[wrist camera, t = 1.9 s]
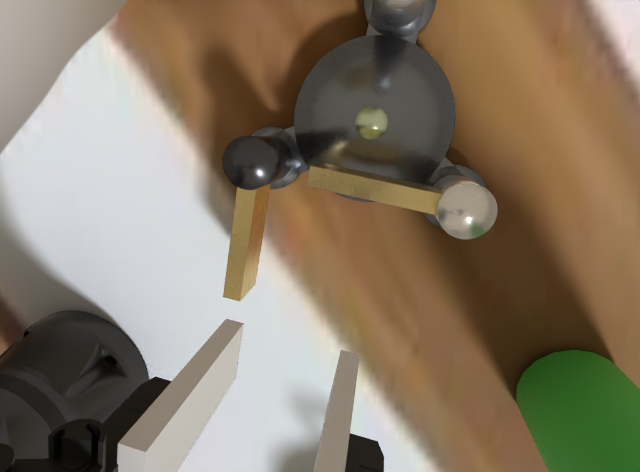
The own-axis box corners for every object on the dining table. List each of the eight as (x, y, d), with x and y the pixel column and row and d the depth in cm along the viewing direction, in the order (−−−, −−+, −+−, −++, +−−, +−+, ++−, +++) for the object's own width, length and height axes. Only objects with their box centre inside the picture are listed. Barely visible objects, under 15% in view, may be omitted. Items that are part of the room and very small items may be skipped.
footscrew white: (483, 180, 28) (505, 190, 23) (469, 225, 29) (486, 245, 24) (325, 146, 30) (311, 149, 24) (316, 191, 31) (302, 202, 26)
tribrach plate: (245, 179, 33) (235, 183, 31) (276, -54, 28) (267, -69, 26) (471, 231, 31) (478, 238, 29) (550, -12, 26) (565, -26, 24)
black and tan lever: (253, 131, 30) (225, 131, 25) (296, 140, 30) (276, 142, 25) (234, 271, 34) (206, 296, 29) (272, 280, 34) (251, 307, 28)
